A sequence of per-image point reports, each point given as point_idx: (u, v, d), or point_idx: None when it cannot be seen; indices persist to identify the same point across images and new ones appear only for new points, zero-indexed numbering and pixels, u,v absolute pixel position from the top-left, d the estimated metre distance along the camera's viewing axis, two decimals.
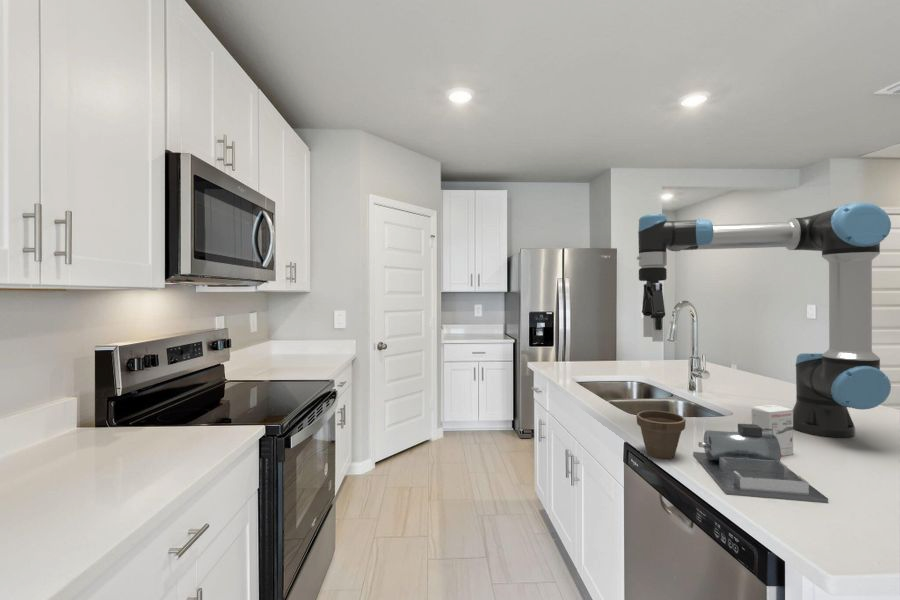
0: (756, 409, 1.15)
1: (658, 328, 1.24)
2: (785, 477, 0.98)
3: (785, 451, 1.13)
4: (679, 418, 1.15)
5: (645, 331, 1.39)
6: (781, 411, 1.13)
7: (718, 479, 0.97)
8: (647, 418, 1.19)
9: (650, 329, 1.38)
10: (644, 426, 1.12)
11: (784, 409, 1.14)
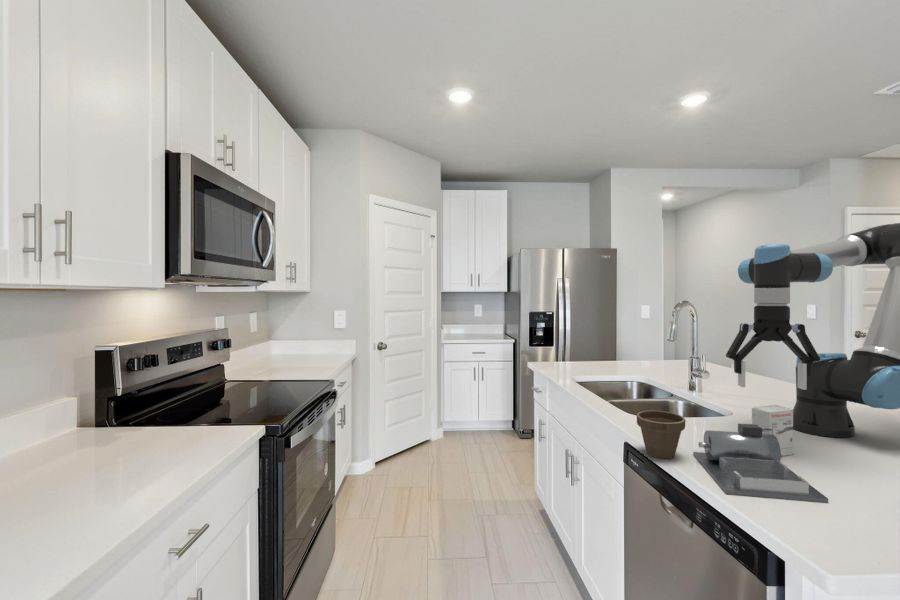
0: (756, 409, 1.15)
1: (735, 371, 1.17)
2: (785, 477, 0.98)
3: (785, 451, 1.13)
4: (679, 418, 1.15)
5: (798, 381, 1.14)
6: (781, 411, 1.13)
7: (718, 479, 0.97)
8: (647, 418, 1.19)
9: (801, 379, 1.13)
10: (644, 426, 1.12)
11: (784, 409, 1.14)
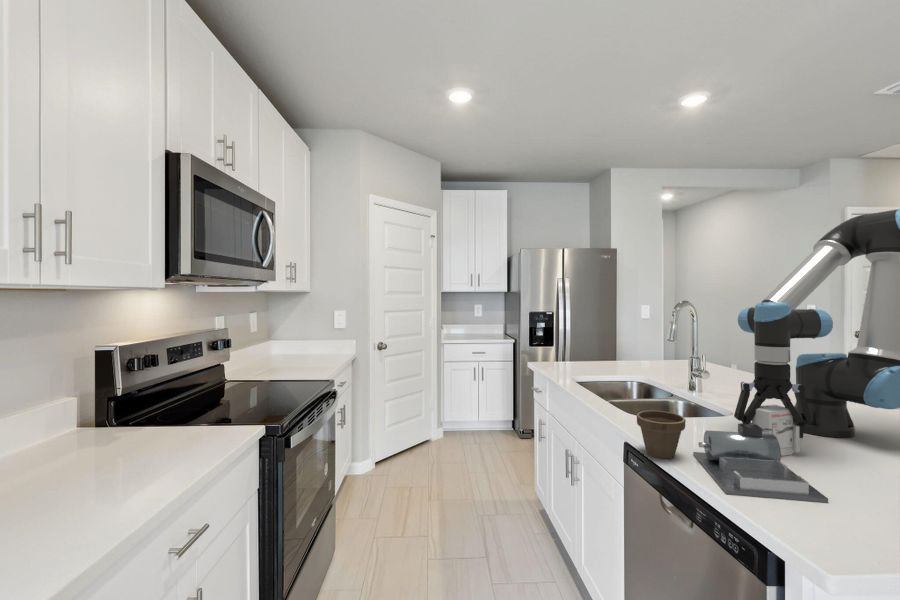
0: (756, 409, 1.15)
1: None
2: (785, 477, 0.98)
3: (785, 451, 1.13)
4: (679, 418, 1.15)
5: None
6: (781, 411, 1.13)
7: (718, 479, 0.97)
8: (647, 418, 1.19)
9: (794, 441, 1.13)
10: (644, 426, 1.12)
11: (784, 409, 1.14)
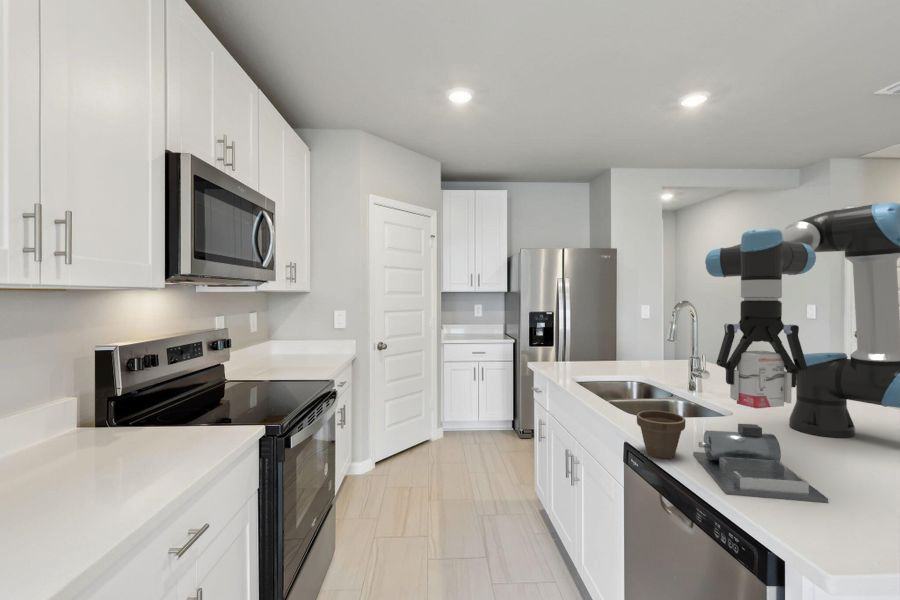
0: None
1: (727, 382, 1.01)
2: (785, 477, 0.98)
3: (774, 401, 0.97)
4: (679, 418, 1.15)
5: None
6: (770, 355, 0.97)
7: (718, 479, 0.97)
8: (647, 418, 1.19)
9: (785, 391, 0.97)
10: (644, 426, 1.12)
11: (774, 353, 0.98)
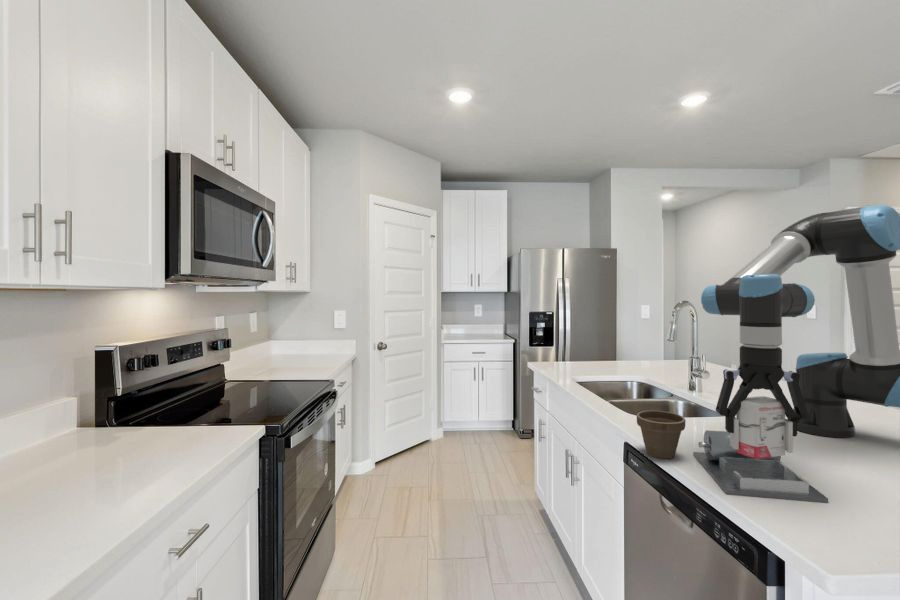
0: None
1: (726, 429, 0.98)
2: (785, 477, 0.98)
3: (775, 451, 0.95)
4: (679, 418, 1.15)
5: None
6: (771, 403, 0.94)
7: (718, 479, 0.97)
8: (647, 418, 1.19)
9: (786, 440, 0.95)
10: (644, 426, 1.12)
11: (774, 401, 0.95)
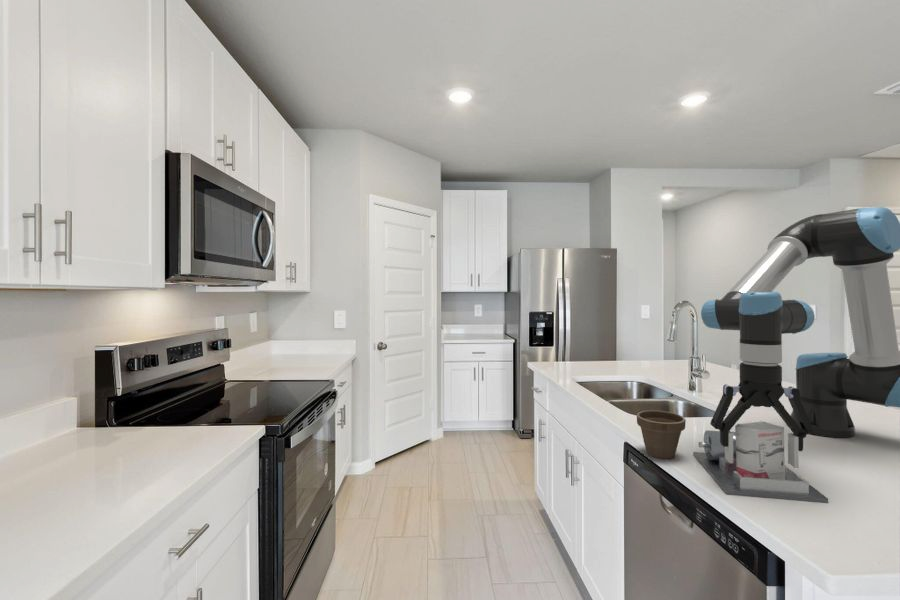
0: (740, 427, 0.97)
1: (721, 443, 0.98)
2: (785, 477, 0.98)
3: (775, 477, 0.95)
4: (679, 418, 1.15)
5: (789, 455, 0.96)
6: (769, 429, 0.95)
7: (718, 479, 0.97)
8: (647, 418, 1.19)
9: (792, 455, 0.95)
10: (644, 426, 1.12)
11: (773, 427, 0.96)
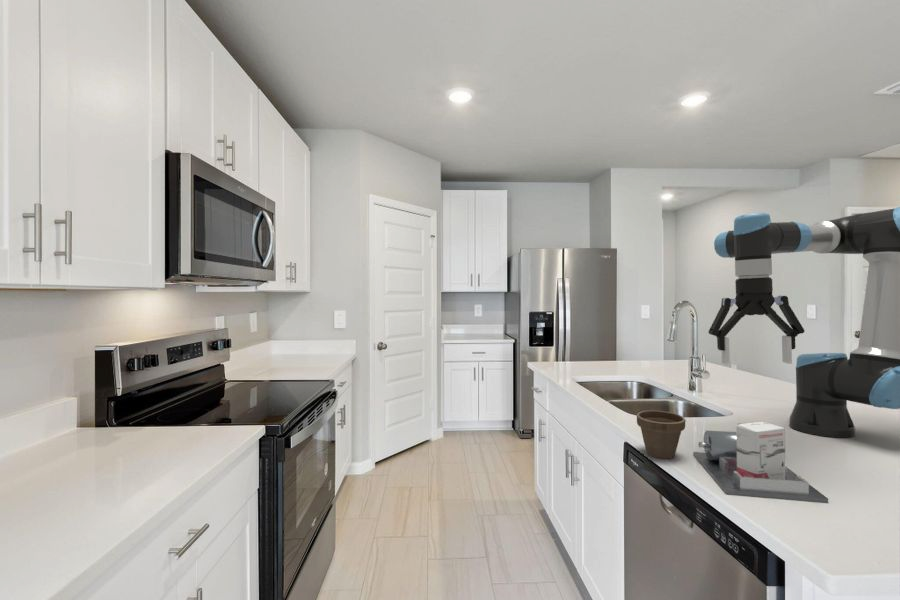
0: (741, 428, 0.96)
1: (718, 348, 1.12)
2: (785, 477, 0.98)
3: (775, 478, 0.95)
4: (679, 418, 1.15)
5: (783, 355, 1.10)
6: (771, 430, 0.95)
7: (718, 479, 0.97)
8: (647, 418, 1.19)
9: (786, 353, 1.08)
10: (644, 426, 1.12)
11: (774, 428, 0.96)
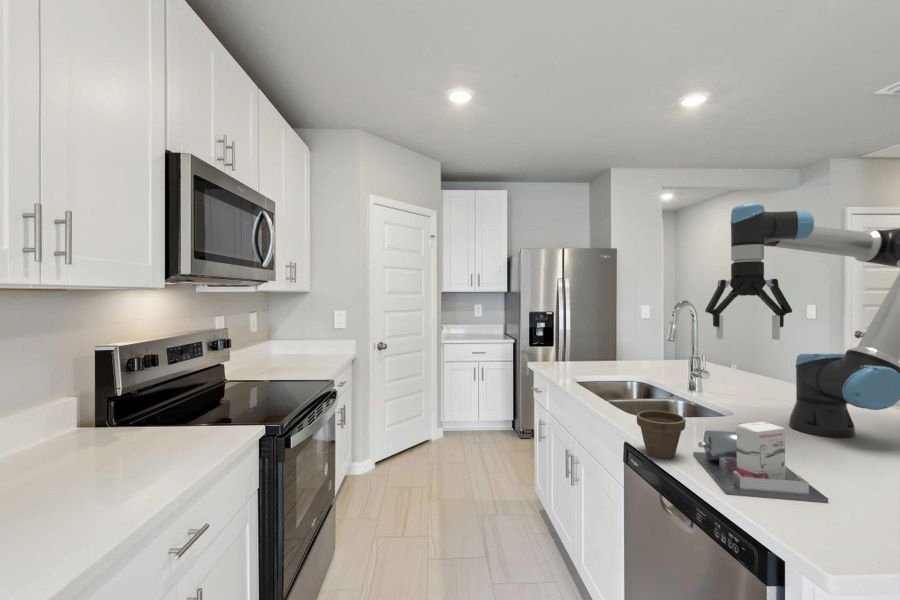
0: (741, 428, 0.96)
1: (713, 325, 1.24)
2: (785, 477, 0.98)
3: (775, 478, 0.95)
4: (679, 418, 1.15)
5: (772, 332, 1.22)
6: (771, 430, 0.95)
7: (718, 479, 0.97)
8: (647, 418, 1.19)
9: (775, 331, 1.20)
10: (644, 426, 1.12)
11: (774, 428, 0.96)
